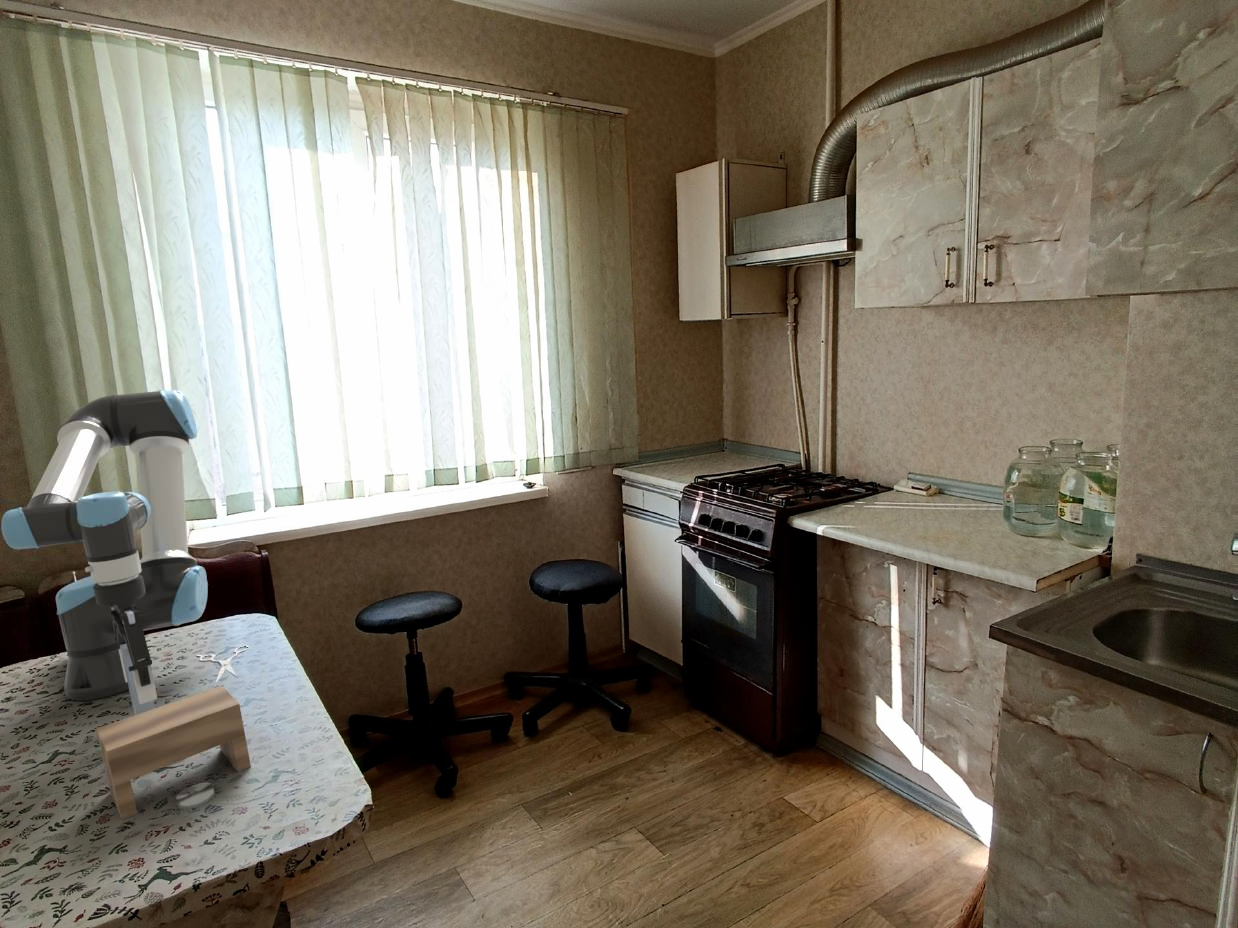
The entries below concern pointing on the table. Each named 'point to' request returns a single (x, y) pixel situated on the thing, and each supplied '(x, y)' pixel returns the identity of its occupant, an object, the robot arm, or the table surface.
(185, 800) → the steel token
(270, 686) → the table surface
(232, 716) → the wooden arch block
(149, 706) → the push tool
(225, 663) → the scissors
